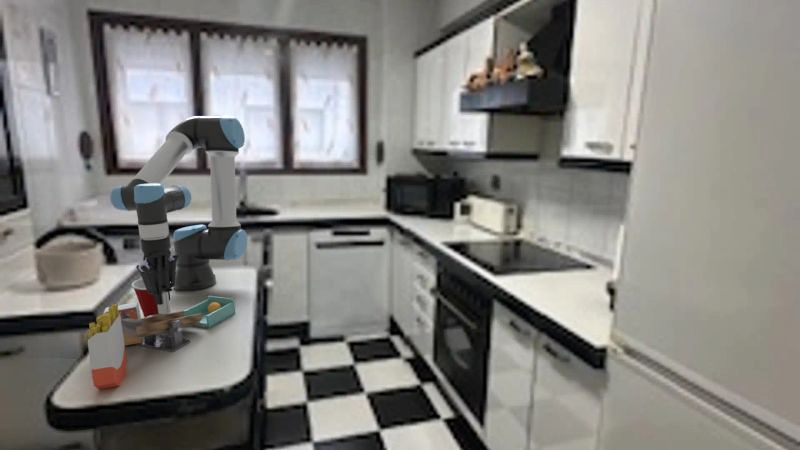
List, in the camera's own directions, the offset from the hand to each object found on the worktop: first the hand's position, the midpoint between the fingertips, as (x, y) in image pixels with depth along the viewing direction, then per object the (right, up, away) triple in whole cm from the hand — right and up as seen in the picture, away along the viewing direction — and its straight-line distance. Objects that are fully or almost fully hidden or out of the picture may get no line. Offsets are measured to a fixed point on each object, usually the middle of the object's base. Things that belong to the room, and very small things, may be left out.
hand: (164, 312), depth 132 cm
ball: (+11, -1, +9) cm, 14 cm away
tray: (+10, -3, +8) cm, 13 cm away
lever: (+1, -2, -9) cm, 9 cm away
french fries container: (+3, -11, -28) cm, 30 cm away
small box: (-6, -7, -9) cm, 12 cm away
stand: (+5, -7, -9) cm, 12 cm away
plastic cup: (-8, -3, +9) cm, 13 cm away
